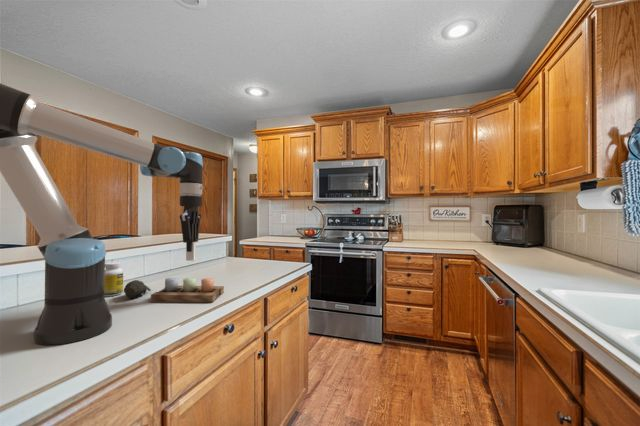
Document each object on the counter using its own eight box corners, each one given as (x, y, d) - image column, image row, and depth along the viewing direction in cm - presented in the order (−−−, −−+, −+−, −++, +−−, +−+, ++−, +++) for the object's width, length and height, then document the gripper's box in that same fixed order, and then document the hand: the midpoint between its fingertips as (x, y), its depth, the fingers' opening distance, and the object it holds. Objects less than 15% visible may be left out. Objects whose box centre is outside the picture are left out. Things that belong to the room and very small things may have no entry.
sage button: (192, 291, 101) (193, 280, 101) (181, 291, 101) (181, 280, 101) (197, 288, 105) (197, 278, 105) (186, 288, 105) (186, 277, 105)
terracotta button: (211, 292, 101) (211, 281, 101) (199, 292, 101) (199, 280, 101) (215, 288, 105) (215, 278, 105) (203, 288, 105) (204, 278, 105)
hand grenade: (146, 292, 99) (155, 286, 110) (130, 278, 98) (141, 274, 109) (132, 306, 97) (142, 298, 109) (115, 292, 96) (128, 286, 107)
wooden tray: (223, 292, 109) (223, 286, 109) (212, 302, 97) (212, 295, 97) (168, 292, 109) (168, 285, 109) (150, 302, 97) (150, 294, 97)
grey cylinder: (174, 291, 101) (174, 280, 101) (162, 291, 101) (162, 280, 101) (180, 288, 105) (180, 277, 105) (168, 288, 105) (168, 277, 105)
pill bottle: (114, 297, 101) (114, 265, 101) (96, 297, 101) (97, 264, 101) (127, 292, 107) (127, 261, 107) (110, 291, 108) (110, 261, 107)
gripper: (194, 194, 96) (193, 263, 97) (208, 196, 109) (207, 257, 110) (171, 194, 96) (171, 263, 96) (188, 196, 109) (188, 257, 109)
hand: (190, 260), depth 103 cm, fingers closed
